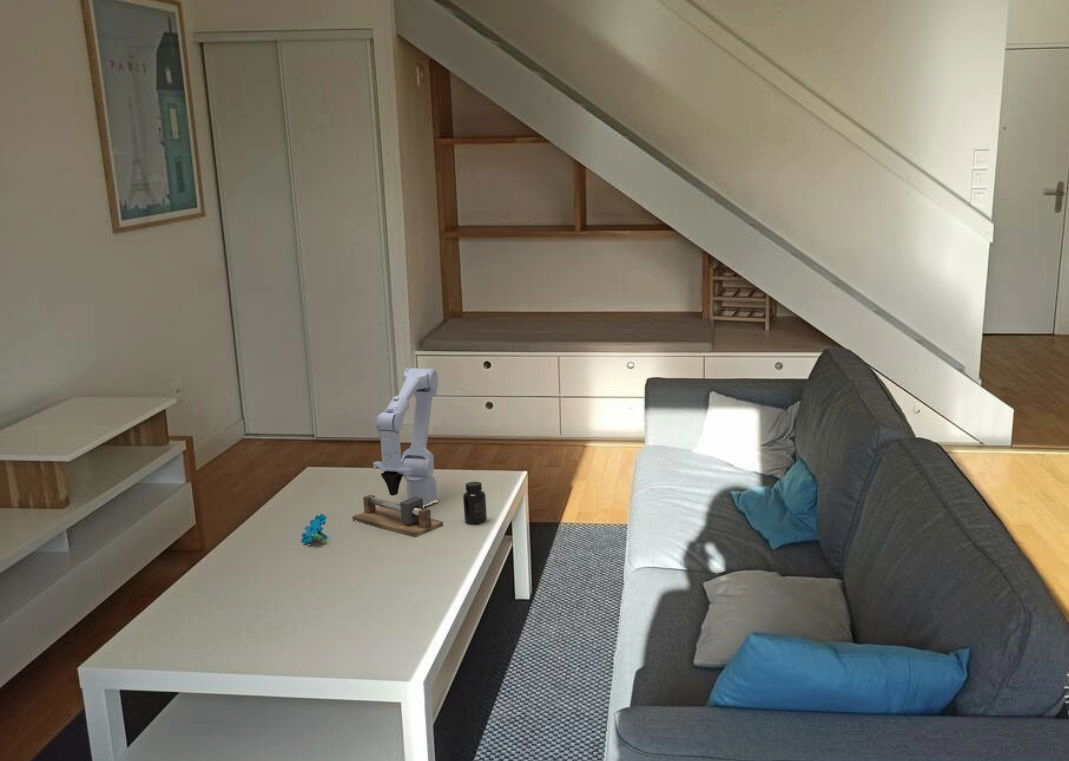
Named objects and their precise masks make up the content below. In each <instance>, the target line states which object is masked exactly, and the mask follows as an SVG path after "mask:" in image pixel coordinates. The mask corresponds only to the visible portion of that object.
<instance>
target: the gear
mask: <svg viewBox="0 0 1069 761" xmlns="http://www.w3.org/2000/svg"><path fill="white" fill-rule="evenodd" d="M326 519H327V516H326V515H325V514H323V513H320V514H319V515H318V514H317V515H315V517H314V518H313V519H311V520H309V526H308V525H306V526H305V528H304V530H305V532H304V531H303V532H302V533H301V538H300V539H301V540H300V542H302V543H304V544H306V545H307V544H308V543H312V542H313V540H314V539H316V541H317V542H321V543H323V544H324V545H327V544H328V541H326V540H327V538H328V535H327V534H325V533H324V532H322V531H323V530H324V528H323V526H324V525H325V524H326V523H327V521H326Z"/></svg>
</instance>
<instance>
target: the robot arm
mask: <svg viewBox="0 0 1069 761" xmlns="http://www.w3.org/2000/svg"><path fill="white" fill-rule="evenodd" d="M402 378H403V379H402V381H403V384H402V386H401V389H400V391H399V393H398V394H397V395H395V396H393V397H392V399H391V400H390V402H389V403H388V405H387V407H386V408H385V410H384V412H381V413H379V414H378V415H377V417H376V420H375V429H376V430H377V432H378V433H377V434H378V437H379V438H380V448H381V449H380V451H381V461H378V460H377V461H374V462H372V466H373V467H372V468H373V470H377V469H378V470H380V471H381V472H382V473H381V474H380V475H381V476H380V477H381V478H382V480H384V483H385V485H386V486H387V490H388V493H389V495H390V496H391V497H392V496H397V495H398V494H399V490H400V484H401V482H402V479H404V480H406V481H405V482H406V498H407V499H406V500H408V499H411V498H413V497H419V498H423V505H426V504H428V503H430V502H431V501H433V500H436V499H437V500H438V488H437V480H436V479H435V476H434V475H433V474H434V471H435V463H434V454H433V453H432V452H431V451H430V450H429V449H428V448H427V444H428V436H429V429H430V421H431V410H432V404H433V397H435V396H436V395H437V391H438V385H439V376H438V372H437V370H436V369H435V368H417V367H416V368H415V367H406V369H405V370H404V372H403V377H402ZM413 396H414V397H415V399H416V402H415V409H414V417H413V426H412V435H411V443H410V447H408V448H406V449H405V451H403V452H402V453H401V451H402V450H401V438H400V437H401V436H400V431H401V430H402V427H403V422H404V418H405V417H404V416H405V415H406V413H407V411H408V410H409V408H410V403H409V402H410V399H411V398H412V397H413Z"/></svg>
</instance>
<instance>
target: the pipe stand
mask: <svg viewBox="0 0 1069 761" xmlns="http://www.w3.org/2000/svg"><path fill="white" fill-rule="evenodd" d="M362 498H363V512H361V513H358V514H355V515H353V516H352V517H351V518H352V520H353V519H354V520H357V521H359V522H358V523H361V522H363V523H362V524H365V523H366V524H365V525H368V524H369V525H368V526H372V525H373V526H372V527H375V528H376V527H377V528H379V529H384V530H387V531H391V532H395V533H398V534H400V535H401V534H402V535H406V536H408V537H414V538H417V537H419V536H421V535H424V534H426V533H429V532H431V531H433V530H435V529H438V528H440V527H443V526H444V521H441V520H438V519H434V518H432V513H431V511H432V510H431V509H430V508H427V507H425V508H423V509H420V508H415V507H412V515H417V516H419V521H417V522H414V523H412V524H409V525H408V524H404V523H402V521H401V505H400V503H398V502H395V501H391V500H386V499H383V498H378V497H376V495H373V494H368V495H366V496H363V497H362ZM354 520H353V521H354ZM357 521H356V522H357Z"/></svg>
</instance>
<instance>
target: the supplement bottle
mask: <svg viewBox="0 0 1069 761" xmlns="http://www.w3.org/2000/svg"><path fill="white" fill-rule="evenodd" d="M486 495H487V494H486V492H485V491H483V486H482V482H481V481H470V482H466V483H465V492H464V493H463V496H462V498H463V514H464V516H463V518H464V522H465V523H466V524H467V525H470V526H471V525H475V526H476V525H478V526H479V525H481V524H484V522H485V523H486V522H487V520H488V515H487V514H488V513H487V498H486Z"/></svg>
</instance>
